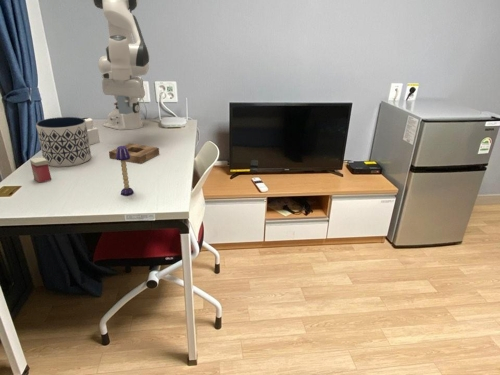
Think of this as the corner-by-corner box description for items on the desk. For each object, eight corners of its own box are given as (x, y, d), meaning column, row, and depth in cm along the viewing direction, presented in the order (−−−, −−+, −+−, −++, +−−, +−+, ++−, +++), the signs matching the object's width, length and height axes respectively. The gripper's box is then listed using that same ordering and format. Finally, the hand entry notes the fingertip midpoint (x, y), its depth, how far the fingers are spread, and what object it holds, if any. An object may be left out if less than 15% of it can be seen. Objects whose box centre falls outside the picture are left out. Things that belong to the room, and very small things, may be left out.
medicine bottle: (77, 143, 168) (73, 119, 163) (89, 139, 174) (85, 116, 169) (89, 145, 166) (85, 120, 161) (100, 141, 172) (96, 118, 167)
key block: (119, 113, 160) (117, 95, 156) (125, 111, 164) (123, 94, 161) (127, 114, 158) (125, 96, 155) (134, 112, 163) (132, 95, 160)
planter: (44, 155, 150) (36, 118, 144) (89, 151, 158) (84, 115, 152) (43, 169, 136) (34, 129, 129) (93, 164, 144) (87, 125, 137)
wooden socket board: (109, 158, 151) (108, 151, 150) (130, 149, 163) (129, 143, 162) (140, 163, 146) (140, 157, 145) (159, 154, 158) (158, 147, 157)
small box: (33, 179, 127) (29, 159, 124) (46, 176, 130) (41, 156, 127) (39, 183, 125) (34, 162, 121) (51, 179, 128) (47, 159, 124)
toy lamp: (117, 193, 119) (111, 147, 113) (128, 188, 123) (123, 143, 116) (126, 196, 117) (120, 150, 110) (137, 192, 121) (132, 146, 114)
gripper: (146, 76, 155) (148, 107, 160) (107, 72, 160) (111, 103, 165) (138, 77, 149) (141, 109, 155) (98, 74, 154) (102, 105, 160)
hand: (125, 106), depth 160 cm, fingers closed on key block, 4 cm apart
